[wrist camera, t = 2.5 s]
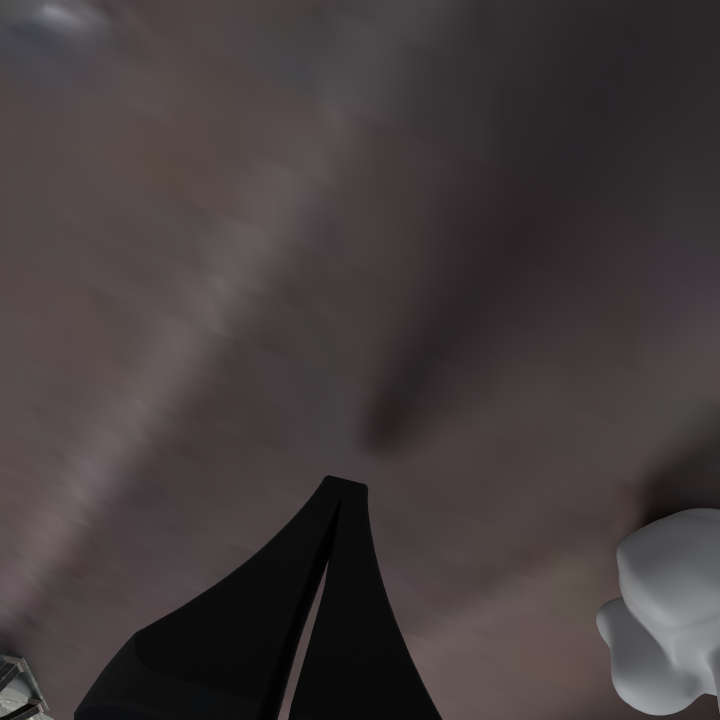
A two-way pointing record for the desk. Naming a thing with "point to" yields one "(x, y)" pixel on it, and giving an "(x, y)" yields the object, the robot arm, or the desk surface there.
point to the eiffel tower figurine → (19, 691)
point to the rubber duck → (666, 613)
